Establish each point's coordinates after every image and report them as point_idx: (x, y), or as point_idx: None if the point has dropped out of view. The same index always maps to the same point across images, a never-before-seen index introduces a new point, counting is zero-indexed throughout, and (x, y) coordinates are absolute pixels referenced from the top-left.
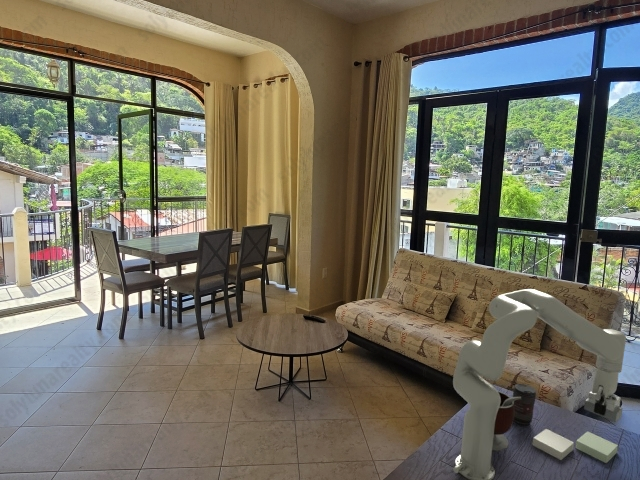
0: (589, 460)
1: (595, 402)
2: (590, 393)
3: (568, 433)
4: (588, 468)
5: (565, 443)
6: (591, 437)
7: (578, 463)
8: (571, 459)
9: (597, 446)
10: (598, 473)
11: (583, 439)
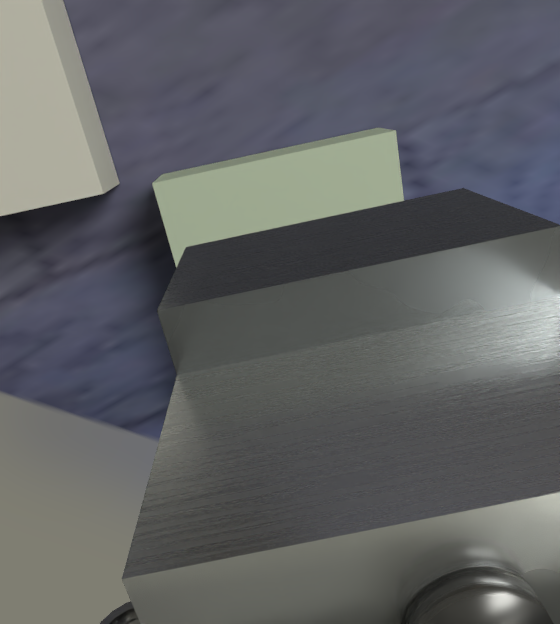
0: (130, 307)
1: (119, 613)
2: (134, 597)
3: (302, 4)
4: (43, 355)
5: (5, 172)
6: (331, 206)
7: (18, 299)
8: (3, 252)
9: None
10: (66, 404)
11: (231, 198)
